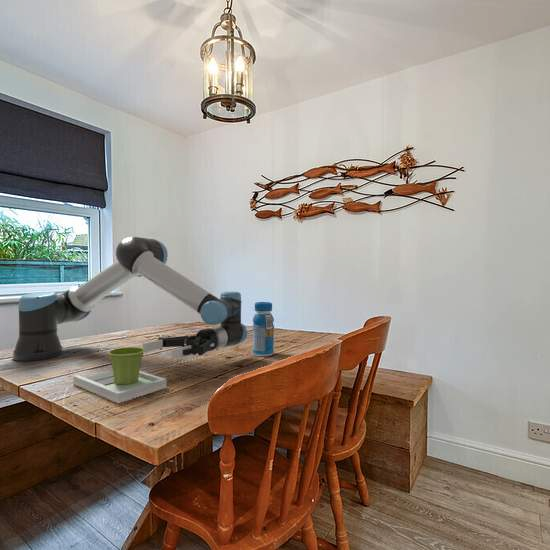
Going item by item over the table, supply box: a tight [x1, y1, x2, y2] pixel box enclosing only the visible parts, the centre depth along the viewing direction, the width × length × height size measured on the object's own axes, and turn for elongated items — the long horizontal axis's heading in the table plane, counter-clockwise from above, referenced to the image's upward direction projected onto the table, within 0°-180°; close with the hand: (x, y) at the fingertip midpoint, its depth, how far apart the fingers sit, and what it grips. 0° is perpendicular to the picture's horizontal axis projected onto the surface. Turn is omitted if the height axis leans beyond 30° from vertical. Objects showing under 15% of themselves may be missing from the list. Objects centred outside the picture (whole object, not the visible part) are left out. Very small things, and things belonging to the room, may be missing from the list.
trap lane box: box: [72, 370, 167, 404], centre depth 95 cm, size 23×14×2 cm, turn 54°
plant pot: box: [107, 346, 146, 385], centre depth 95 cm, size 9×9×9 cm
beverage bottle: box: [251, 301, 275, 357], centre depth 132 cm, size 8×8×20 cm
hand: (157, 350), depth 99 cm, fingers open, 13 cm apart
